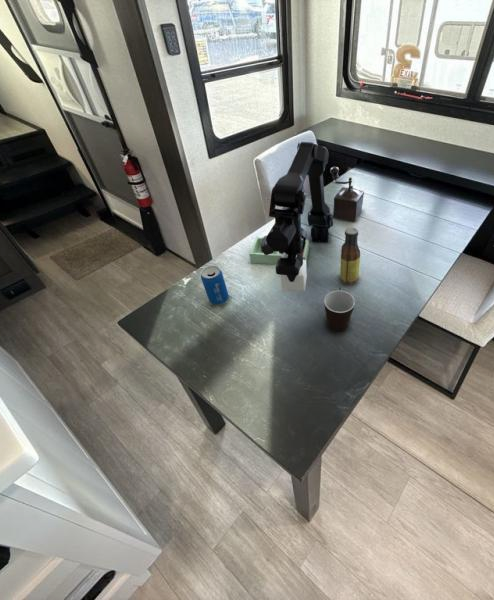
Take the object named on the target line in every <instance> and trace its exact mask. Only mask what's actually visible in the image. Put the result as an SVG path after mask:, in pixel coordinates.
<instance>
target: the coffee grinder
mask: <svg viewBox="0 0 494 600" xmlns="http://www.w3.org/2000/svg"><path fill="white" fill-rule="evenodd" d="M329 172H330V174H331V175H332V179H333V181H334V183H335V184H338V185H348V187H340V190H339V191H338V192H337V193H336V195H335V196H334V198H333V215H332V216H333V218H334V219H340V220H343V221H348V222H356V221H357V220H358V219H359V217H360V215H361V214H362V212H363V205H364V204H363V203H364V197H365V190H361V189H357V188H354V185H352V183H353V181H352V180H353V178H352V177H351V176H350V177H348V181H337V179H339V178H340V176H339V172H340V168H339V167H338V166H332V167H331V168H330V170H329Z"/></svg>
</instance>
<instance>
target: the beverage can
mask: <svg viewBox="0 0 494 600" xmlns="http://www.w3.org/2000/svg"><path fill="white" fill-rule="evenodd" d="M200 280H201V283H202V285H203V288H204V291H205V293H206V296H207V300H208V302H209V303H210V304H212V305H214V306H219V305H223V304H224V303H226V302H228V300H229V297H230V295H229V290H228V288H227V284H226V281H225V277H224V273H223V271H222V270H221V268H219V266H216V265H209V266H206V267H204V268H203V269H202V270H201V272H200Z"/></svg>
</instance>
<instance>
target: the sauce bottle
mask: <svg viewBox="0 0 494 600" xmlns="http://www.w3.org/2000/svg"><path fill="white" fill-rule="evenodd" d="M358 236H359V229H358V228H357V227H354V226H349V227H346V228H345V230H344V242H343V244H342V245H341V248H340V249H341V250H340V269H339V270H340V271H339V272H340V273H339V277H340V281H341V282H342V283H343V284H345V285H354V284H356V283H357V282H358V281H359V277H360V265H361V264H360V262H361V250H360V247H359V243H358Z"/></svg>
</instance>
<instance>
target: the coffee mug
mask: <svg viewBox="0 0 494 600" xmlns="http://www.w3.org/2000/svg"><path fill="white" fill-rule="evenodd" d="M341 288H342V287H340V286H339V287H338V290H333V291H330V292H328V293H326V295H325V296H324V299H323V304H324V311H325V312H324V313H325V318H326V324H327V325H326V326H327V328H328V329H329V330H330V331H332V332H334V333H342V332H345V331H347V329H348V327H349V324H350V321H351V318H352V315H353V311H354V308H355V305H356V299H355V297H354V296H353V295H352V294H351V293H350V292H348V291H345V290H341Z"/></svg>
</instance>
